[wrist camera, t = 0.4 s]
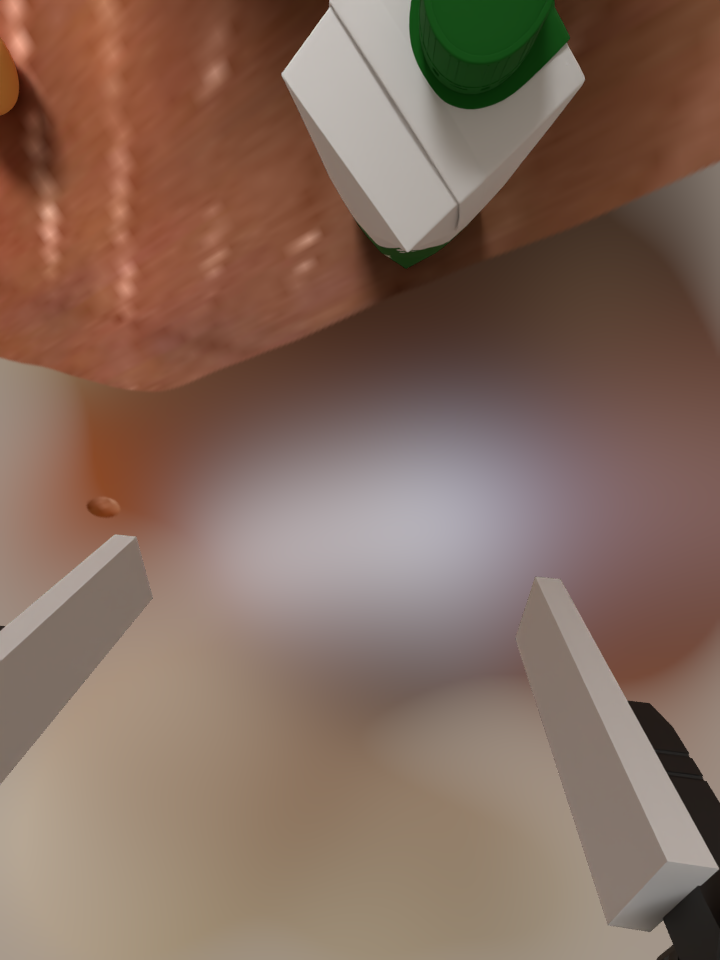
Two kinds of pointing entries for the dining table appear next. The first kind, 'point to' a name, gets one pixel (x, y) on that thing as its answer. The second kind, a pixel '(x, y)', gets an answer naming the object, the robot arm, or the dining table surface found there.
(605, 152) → the dining table surface
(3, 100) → the ball
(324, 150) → the milk carton
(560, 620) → the robot arm
